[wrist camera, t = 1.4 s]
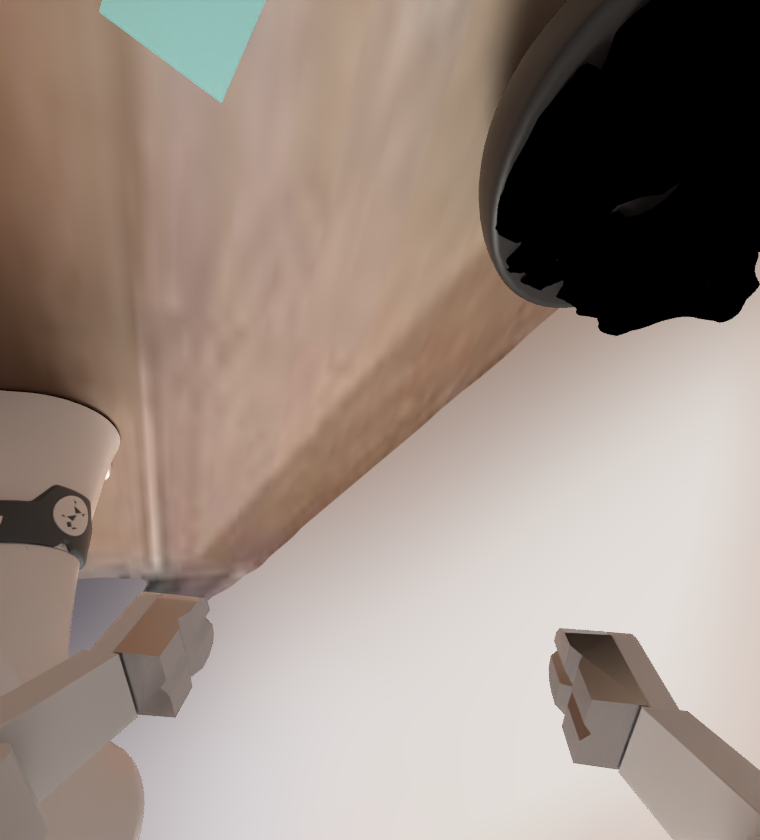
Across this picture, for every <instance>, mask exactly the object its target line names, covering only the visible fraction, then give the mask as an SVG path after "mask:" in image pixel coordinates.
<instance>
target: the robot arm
mask: <svg viewBox="0 0 760 840" xmlns="http://www.w3.org/2000/svg"><path fill="white" fill-rule="evenodd" d="M119 446H120V436H119V433H118V432H117V430H116V428H115V427H114V426H113V425H112V424H111V423H110V422H109V421H108V420H107V419H106V418H104V417H103V416H102V415H100V414H98V413H97V412H95V411H93V410H91V409H89V408H87V407H85V406H82V405H80V404H77V403H75V402H72V401H69V400H65V399H62V398H58V397H53V396H48V395H43V394H36V393H27V392H14V391H2V390H0V840H139V836H140V833H141V827H142V822H143V814H144V791H143V785H142V780H141V776H140V774H139V771H138V768H137V766H136V765H135V763H134V761H133V760H132V758H131V757H130V756H129V754H128V753H127V752H126V751H125V750H123V749H122V748H120V747H118V746H117V745H115V744H114V743H112V742H111V741H110V740H112V739H113V738H114V737H115V736H116V735H117V734H119V733H120V732H121V731H122V730H123V729H124V728H125V727H127V726H128V725H129V724H130V723H131V722H132V721H133V720H135V719H136V718H137V714H139V715H152V716H165V717H176V715H177V714H178V712H179V710H180V708H181V706H182V704H183V703H184V701H185V699H186V697H187V696H188V694H189V692H190V690H191V688H192V683H191V676H193V675H194V674H195V673H197V672H198V671H199V670H200V669H202V668H203V666H204V665H205V663H206V661H207V659H208V657H209V654H210V650H211V647H212V644H213V633H214V632H213V626H212V624H211V623H210V622H209V620H208V619H207V618H206V615H207V614H208V612H209V605H208V601H207V599H204V598H198V597H190V596H181V595H172V594H161V593H152V592H144V593H142V594H140V595H138V596H137V597H136V598H135V599H134V600H133V601H132V603H131V604H130V605H129V606H128V607H127V608H126V609H125V610H124V612H123V613H122V614H121V615H120V616H119V617H118V619H117V620H116V621H115V622H114V623H113V624H112V625H111V626H110V628H109V629H108V630H107V631H106V632H105V633H104V635H103V636H102V637H101V638H100V639H99V640H98V641H97V642H96V643H95V645H94V646H93V647H92V648H91V649H90V650H89V651H88V650H87V651H86V650H82V651H80V652H79V653H77V654H75V655H73V656H72V657H69V648H70V632H71V622H72V613H73V605H74V597H75V591H76V585H77V579H78V573H79V570H81V569H82V568H83V567H84V565H85V563H86V559H87V555H88V552H89V549H90V547H89V545H90V540H91V534H92V519H93V516H94V513H95V510H96V506H97V503H98V500H99V497H100V494H101V491H102V487H103V484H104V481H105V480H106V479H107V478H109V476H110V473H111V469H112V466H111V462H112V460H113V458H114V456H115V454H116V452H117V450H118V448H119ZM554 641H555V644H556V647H557V650H558V651H556V652H555V653H554V654H552V655H551V659H550V664H549V679H550V680H549V681H550V686H551V692H552V695H553V699H554V702H555V705H556V706H557V707H558V708H559V709H560V710H561V711H562V712H563V713H564V714H565V717H564V721H563V725H562V728H563V731H564V734H565V737H566V740H567V744H568V747H569V750H570V753H571V756H572V760H573V763H578V764H585V765H591V766H598V767H605V768H612V769H619V773H620V774H621V776H622V777H623V778H624V779H625V781H626V782H627V783H628V784H629V786H630V787H631V788H632V789H633V791H634V792H635V793H636V794H637V796H638V797H639V798H640V799H641V801H642V802H643V803H644V804H645V805H646V807H647V808H648V809H649V810H650V812H651V813H652V814H653V815H654V817H655V818H656V819H657V820H658V822H659V823H660V824H661V825H662V826H663V828H664V829H665V830H666V831H667V833H668V834H669V835H670V836H671V838H672V839H673V840H760V770H759V769H757V768H756V767H755V766H754V765H752V764H751V763H750V762H749V761H748V760H746V759H745V758H744V757H743V756H742V755H740V754H739V753H738V752H737V751H735V750H734V749H733V748H732V747H731V746H729V745H728V744H727V743H726V742H724V741H723V740H722V739H721V738H720V737H718V736H717V735H716V734H714V733H713V732H712V731H711V730H710V729H708V728H707V727H706V726H705V725H704V724H702V723H701V722H700V721H699V720H698V719H696V718H695V717H694V716H693V715H691V714H690V713H689V712H688V711H681V710H679V709H678V707H677V705H676V703H675V702H674V700H673V699H672V697H671V695H670V693H669V692H668V690H667V688H666V687H665V685H664V683H663V682H662V680H661V678H660V677H659V675H658V673H657V672H656V670H655V668H654V667H653V665H652V664H651V662H650V660H649V658H648V657H647V655H646V654H645V652H644V650H643V648H642V647H641V645H640V643H639V642H638V640H637V639H636V637H634V636H633V635H632V634H625V633H612V632H602V631H589V630H575V629H562V628H560V629H559V630H558V631H557V632H556V636H555V640H554Z"/></svg>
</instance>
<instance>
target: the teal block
mask: <svg viewBox="0 0 760 840" xmlns="http://www.w3.org/2000/svg"><path fill="white" fill-rule="evenodd" d="M265 1H266V0H102V2H101V6H100V11H99V12H100V13H101V14H102V15H104V16H105V17H106V18H108V19H109V20H110V21H112V22H113V23H114V24H116V25H117V26H118V27H120V28H121V29H122V30H124V31H125V32H126V33H128V34H129V35H130V36H132V37H133V38H134V39H136V40H137V41H138V42H140V43H141V44H143V45H144V46H145V47H147V48H148V49H149V50H151V51H152V52H153V53H155V54H156V55H157V56H159V57H160V58H161V59H163V60H164V61H165V62H167V63H168V64H169V65H171V66H172V67H173V68H175V69H176V70H177V71H179V72H180V73H181V74H183V75H184V76H186V77H187V78H188V79H190V80H191V81H192V82H194V83H195V84H196V85H198V86H199V87H200V88H202V89H203V90H204V91H206V92H207V93H208V94H210V95H211V96H212V97H214V98H215V99H216V100H218V101H219V102H220V103H222V101H223V99H224V96H225V94H226V92H227V89H228V87H229V85H230V82H231V80H232V78H233V75H234V73H235V71H236V68H237V66H238V64H239V61H240V59H241V57H242V54H243V52H244V50H245V47H246V45H247V43H248V40H249V38H250V36H251V33H252V31H253V29H254V26H255V24H256V22H257V19H258V17H259V15H260V12H261V10H262V8H263V5H264V3H265Z"/></svg>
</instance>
